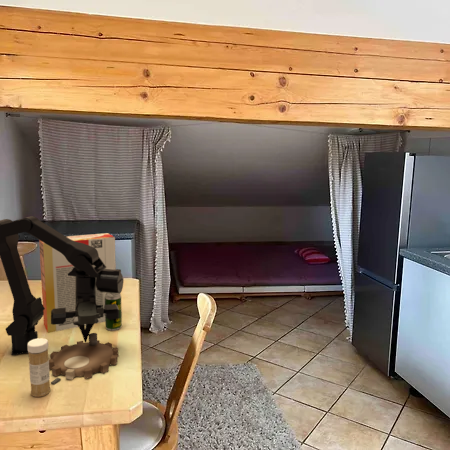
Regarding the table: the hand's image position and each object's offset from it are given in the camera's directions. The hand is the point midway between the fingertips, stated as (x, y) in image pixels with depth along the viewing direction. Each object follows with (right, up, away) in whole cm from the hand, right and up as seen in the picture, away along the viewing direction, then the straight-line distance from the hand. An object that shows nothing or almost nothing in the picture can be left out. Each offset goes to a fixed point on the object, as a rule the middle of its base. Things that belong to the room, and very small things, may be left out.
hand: (85, 341), depth 122 cm
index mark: (-2, -6, -15) cm, 17 cm away
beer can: (+3, -1, +18) cm, 19 cm away
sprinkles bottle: (-4, -7, -20) cm, 22 cm away
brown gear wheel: (+1, -4, -5) cm, 7 cm away
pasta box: (-9, 0, +23) cm, 25 cm away
